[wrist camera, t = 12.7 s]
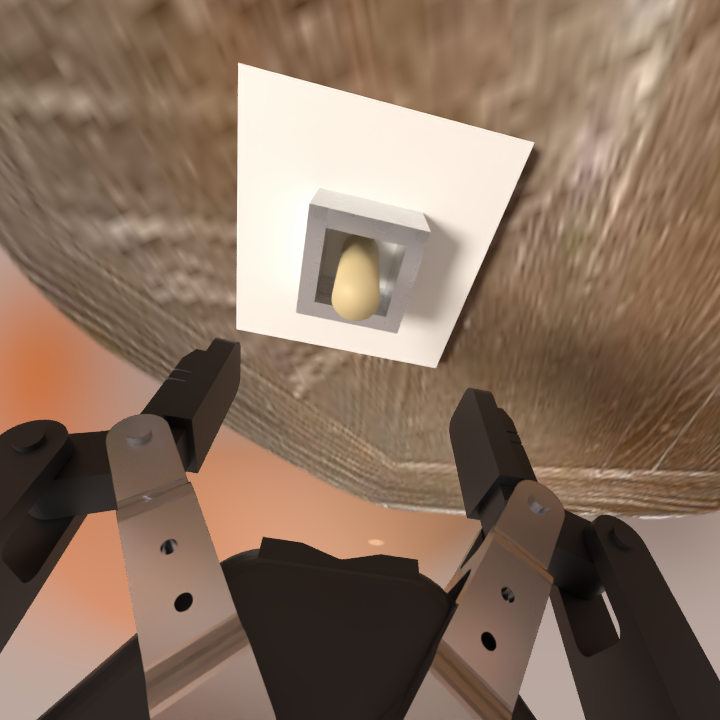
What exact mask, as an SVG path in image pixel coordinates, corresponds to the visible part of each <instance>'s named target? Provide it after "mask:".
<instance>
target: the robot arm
mask: <svg viewBox="0 0 720 720" xmlns="http://www.w3.org/2000/svg"><path fill="white" fill-rule="evenodd" d="M239 382H240V343H239V342H237V341H232V340H226V339H221V338H215V339H214V340H213V342H212V343H211V345H210V346H209V348H208V349H207V351H203V350H198V349H196V350H195V351H193V352H191V353H190V354H188V355H186V356H185V357H183V358H182V359H181V361H180V362H179V363H178V365H177V366H176V367H175V370H173V371H172V373H171V374H170V375H169V377H168V380H167V379H166V381H165V382H164V383H163V385H162V386H161V387H160V389H159V390H158V391H157V393H156V394H155V395H154V397H153V398H152V399H151V400H150V402H149V403H148V405H147V406H146V407H145V408H144V410H143V411H142V412H141V414H139V415H135V416H131V417H128V418H126V419H123V420H122V421H120V422H118V423H117V424H115V425H114V426H113V427H112V428H111V429H110V430H108V431H100V432H88V433H75V434H69V433H68V431H67V429H66V427H65V426H64V425H63V424H61V423H59V422H57V421H53V420H35V421H31V422H26V423H23V424H20V425H17V426H15V427H13V428H11V429H9V430H7V431H6V432H4V433H3V434H1V435H0V653H1V651H2V650H3V648H4V646H5V645H6V644H7V642H8V640H9V639H10V637H11V636H12V634H13V632H14V631H15V629H16V628H17V626H18V624H19V623H20V621H21V620H22V618H23V617H24V615H25V613H26V612H27V610H28V609H29V607H30V605H31V604H32V602H33V601H34V599H35V597H36V596H37V594H38V593H39V591H40V589H41V588H42V586H43V585H44V583H45V581H46V580H47V578H48V577H49V575H50V573H51V572H52V570H53V569H54V567H55V565H56V564H57V562H58V561H59V559H60V558H61V556H62V554H63V553H64V551H65V549H66V548H67V546H68V545H69V543H70V541H71V540H72V538H73V537H74V535H75V533H76V532H77V530H78V529H79V527H80V525H81V524H82V522H83V521H84V519H85V518H86V516H87V514H90V513H97V512H104V511H111V510H116V515H117V522H118V528H119V533H120V539H121V544H122V550H123V556H124V561H125V567H126V572H127V578H128V584H129V589H130V595H131V601H132V606H133V612H134V617H135V623H136V628H137V633H136V634H135V635H134V636H133V637H132V638H130V639H129V640H128V641H127V642H126V643H124V644H123V645H122V646H121V647H120V648H119V649H118V650H117V651H115V652H114V653H113V654H112V655H111V656H110V657H109V658H107V659H106V660H105V661H104V662H103V663H101V664H100V665H99V666H98V667H97V668H96V669H94V670H93V671H92V672H91V673H90V674H89V675H88V676H86V677H85V678H84V679H83V680H82V681H81V682H80V683H78V684H77V685H76V686H75V687H74V688H72V689H71V690H70V691H69V692H68V693H67V694H66V695H64V696H63V697H62V698H61V699H60V700H59V701H57V702H56V703H55V704H54V705H53V706H52V707H51V708H49V709H48V710H47V711H46V712H45V713H44V714H43V715H41V716H40V717H39V718H38V719H37V720H537V719H536V718H535V716H534V715H533V714H532V712H531V711H530V709H529V708H528V707H527V705H526V704H525V702H524V701H523V699H522V698H521V696H520V695H519V690H520V687H521V684H522V681H523V677H524V674H525V671H526V668H527V665H528V661H529V658H530V655H531V652H532V649H533V645H534V642H535V639H536V636H537V633H538V629H539V626H540V623H541V619H542V616H543V613H544V610H545V607H546V604H547V600H548V597H549V596H550V600H551V603H552V606H553V609H554V613H555V617H556V620H557V623H558V627H559V630H560V634H561V637H562V640H563V644H564V647H565V651H566V654H567V658H568V661H569V664H570V668H571V671H572V675H573V678H574V681H575V685H576V688H577V692H578V695H579V699H580V702H581V705H582V709H583V712H584V716H585V719H586V720H720V681H719V679H718V677H717V675H716V673H715V671H714V670H713V668H712V666H711V664H710V662H709V660H708V658H707V657H706V655H705V653H704V651H703V649H702V647H701V646H700V644H699V642H698V640H697V638H696V636H695V635H694V633H693V631H692V629H691V627H690V625H689V624H688V622H687V620H686V618H685V616H684V614H683V613H682V611H681V609H680V607H679V605H678V604H677V602H676V600H675V598H674V596H673V594H672V593H671V591H670V589H669V587H668V585H667V583H666V581H665V580H664V578H663V576H662V574H661V572H660V571H659V569H658V567H657V565H656V563H655V561H654V559H653V558H652V556H651V554H650V552H649V550H648V548H647V547H646V545H645V543H644V542H643V540H642V539H641V537H640V536H639V535H638V534H637V533H636V531H634V530H633V529H632V528H631V527H630V526H629V525H627V524H626V523H625V522H623V521H621V520H620V519H618V518H616V517H613V516H610V515H600V516H598V517H597V518H596V519H595V520H594V521H592V522H590V521H588V520H586V519H583V518H582V517H579V516H577V515H575V514H573V513H571V512H568V511H566V510H564V508H563V505H562V503H561V502H560V500H559V499H558V497H557V496H556V495H555V494H554V493H553V492H552V491H551V490H550V489H548V488H547V487H546V486H544V485H542V484H540V483H538V481H537V479H536V477H535V474H534V472H533V469H532V467H531V464H530V462H529V459H528V457H527V455H526V452H525V450H524V447H523V446H522V445H521V443H522V442H521V440H520V438H519V435H517V430H516V428H515V425H514V423H513V421H512V419H511V418H510V417H509V416H508V415H507V413H506V412H505V411H504V410H503V409H501V408H497V405H496V402H495V400H494V397H493V395H492V393H491V392H488V391H483V390H478V389H473V388H468V389H467V390H466V392H465V393H464V395H463V397H462V399H461V401H460V403H459V405H458V407H457V408H456V410H455V412H454V414H453V416H452V418H451V421H450V427H449V433H450V438H451V443H452V448H453V453H454V457H455V462H456V467H457V472H458V477H459V481H460V486H461V491H462V496H463V501H464V505H465V510H466V515H467V518H471V519H477V520H480V521H481V525H482V528H481V529H480V530H479V532H478V533H477V535H476V537H475V538H474V540H473V542H472V544H471V546H470V547H469V549H468V551H467V553H466V554H465V556H464V558H463V560H462V561H461V563H460V565H459V567H458V568H457V570H456V572H455V574H454V575H453V577H452V578H451V580H450V581H449V583H448V584H447V586H446V587H445V588H444V590H443V589H442V588H441V587H440V586H439V585H438V584H436V583H435V582H434V581H432V580H431V579H429V578H428V577H426V576H424V575H422V574H421V573H419V568H418V560H416V559H409V558H402V557H394V556H388V555H382V554H380V555H373V556H366V557H359V558H351V559H343V560H342V559H338V558H335V557H333V556H331V555H329V554H326V553H324V552H322V551H320V550H317V549H315V548H313V547H311V546H308V545H306V544H304V543H300V542H293V541H287V540H280V539H273V538H266V537H263V539H262V543H261V547H260V549H253V550H249V551H245V552H242V553H239V554H236V555H234V556H231V557H229V558H227V559H226V560H224V561H222V562H220V563H219V560H218V557H217V554H216V551H215V548H214V546H213V542H212V540H211V537H210V534H209V531H208V528H207V526H206V523H205V520H204V517H203V514H202V511H201V508H200V505H199V503H198V499H197V497H196V494H195V491H194V488H193V486H192V484H191V482H188V479H187V477H186V474H185V472H186V471H187V472H193V473H198V472H199V470H200V468H201V466H202V464H203V462H204V460H205V457H206V455H207V453H208V451H209V449H210V447H211V445H212V443H213V441H214V439H215V437H216V434H217V433H218V431H219V429H220V426H221V424H222V422H223V420H224V418H225V416H226V414H227V412H228V410H229V408H230V406H231V404H232V402H233V400H234V398H235V395H236V393H237V390H238V387H239ZM604 591H606V594H607V596H608V598H609V601H610V603H611V606H612V608H613V611H614V613H615V616H616V618H617V620H618V623H619V627H620V639H619V637H618V634H617V632H616V629H615V627H614V624H613V622H612V619H611V617H610V614H609V612H608V609H607V607H606V605H605V602H604V600H603V597H602V594H601V593H603V592H604Z"/></svg>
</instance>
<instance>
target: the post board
mask: <svg viewBox="0 0 720 720" xmlns="http://www.w3.org/2000/svg"><path fill="white" fill-rule="evenodd" d="M533 145H534V142H530V141H526V140H522V139H519V138H515V137H511V136H508V135H504V134H500V133H496V132H493V131H489V130H485V129H482V128H478V127H474V126H470V125H467V124H463V123H459V122H456V121H452V120H448V119H445V118H441V117H437V116H433V115H430V114H426V113H422V112H419V111H415V110H411V109H407V108H404V107H400V106H396V105H393V104H389V103H385V102H381V101H378V100H374V99H370V98H367V97H363V96H359V95H355V94H352V93H348V92H344V91H341V90H337V89H333V88H330V87H326V86H322V85H318V84H315V83H311V82H307V81H304V80H300V79H296V78H292V77H289V76H285V75H281V74H278V73H274V72H270V71H266V70H263V69H259V68H255V67H252V66H248V65H244V64H240V63H238V186H237V329H239V330H244V331H249V332H254V333H259V334H264V335H270V336H275V337H280V338H285V339H290V340H295V341H300V342H305V343H310V344H315V345H320V346H326V347H331V348H336V349H341V350H346V351H351V352H356V353H361V354H366V355H371V356H377V357H382V358H387V359H392V360H397V361H402V362H407V363H412V364H417V365H422V366H427V367H433V368H436V367H437V364H438V362H439V360H440V357H441V355H442V353H443V351H444V348H445V346H446V344H447V341H448V339H449V337H450V335H451V332H452V330H453V328H454V325H455V323H456V321H457V319H458V316H459V314H460V312H461V309H462V307H463V305H464V303H465V300H466V298H467V296H468V293H469V291H470V289H471V287H472V284H473V282H474V280H475V277H476V275H477V273H478V271H479V268H480V266H481V264H482V261H483V259H484V257H485V255H486V252H487V250H488V248H489V245H490V243H491V241H492V239H493V236H494V234H495V232H496V229H497V227H498V225H499V223H500V220H501V218H502V216H503V213H504V211H505V209H506V207H507V204H508V202H509V200H510V197H511V195H512V193H513V191H514V188H515V186H516V184H517V181H518V179H519V177H520V175H521V172H522V170H523V168H524V165H525V163H526V161H527V159H528V156H529V154H530V152H531V149H532V147H533ZM319 188H323V189H327V190H332V191H336V192H340V193H344V194H348V195H352V196H356V197H360V198H365V199H369V200H373V201H377V202H381V203H385V204H389V205H393V206H397V207H402V208H406V209H410V210H414V211H418V212H422V213H423V214H424V217H425V219H426V222H427V224H428V226H429V229H430V231H431V234H430V237H429V240H428V243H427V246H426V249H425V252H424V255H423V258H422V261H421V264H420V267H419V270H418V273H417V276H416V279H415V282H414V285H413V288H412V291H411V294H410V297H409V300H408V303H407V306H406V309H405V312H404V315H403V318H402V321H401V324H400V327H399V330H398V333H397V334H396V333H391V332H386V331H382V330H377V329H372V328H367V327H362V326H357V325H352V324H348V323H343V322H338V321H333V320H328V319H323V318H318V317H313V316H309V315H304V314H299V313H296V308H297V300H298V291H299V283H300V275H301V267H302V259H303V251H304V243H305V235H306V227H307V218H308V210H309V203H310V202H311V200H312V198H313V197H314V195H315V194H316V192H317V191H318V189H319ZM396 246H397V244H394V243H389V242H385V241H381V240H376V239H372V238H368V237H363V236H359V235H355V234H350V233H346V232H342V231H337V230H333V229H330V232H329V238H328V244H327V250H326V256H325V262H324V268H323V275H324V276H329V277H333V278H336V279H335V283H334V288H333V292H332V305H333V307H334V309H335V311H336V312H337V313H338V314H339V315H340V316H341V317H343V318H345V319H347V320H350V321H362V320H365V319H368V318H370V317H371V316H372V315H373V314H374V313H375V312H376V311H377V309H378V307H379V303H380V288H384V289H385V285H386V282H387V278H388V274H389V271H390V267H391V264H392V260H393V257H394V253H395V250H396Z"/></svg>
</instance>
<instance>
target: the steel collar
mask: <svg viewBox="0 0 720 720" xmlns="http://www.w3.org/2000/svg"><path fill="white" fill-rule="evenodd" d="M330 229H333V230H337V231H342V232H346V233H350V234H355V235H359V236H363V237H368V238H372V239H376V240H381V241H385V242H389V243H394V244H397V246H396V250H395V253H394V257H393V260H392V264H391V267H390V271H389V274H388V278H387V282H386V285H385V289H384V288H380V303H379V307H378V309H377V311H376V312H375V313H374V314H373V315H372V316H371V317H370V318H368V319H365V320H362V321H350V320H347V319H345V318H343V317H341V316H340V315H339V314H338V313H337V312H336V311H335V309H334V307H333V305H332V292H333V288H334V283H335V279H336V278H333V277H329V276H324V275H323V268H324V262H325V256H326V250H327V244H328V238H329V232H330ZM430 234H431V231H430V229H429V226H428V224H427V222H426V219H425V217H424V214H423V213H422V212H418V211H414V210H410V209H406V208H402V207H397V206H393V205H389V204H385V203H381V202H377V201H373V200H369V199H365V198H360V197H356V196H352V195H348V194H344V193H340V192H336V191H332V190H327V189H323V188H319V189H318V191H317V192H316V194H315V195H314V197H313V198H312V200H311V202H310V203H309V210H308V218H307V227H306V235H305V243H304V251H303V259H302V267H301V275H300V283H299V291H298V300H297V308H296V313H299V314H304V315H309V316H313V317H318V318H323V319H328V320H333V321H338V322H343V323H348V324H352V325H357V326H362V327H367V328H372V329H377V330H382V331H386V332H391V333H396V334H397V333H398V330H399V327H400V324H401V321H402V318H403V315H404V312H405V309H406V306H407V303H408V300H409V297H410V294H411V291H412V288H413V285H414V282H415V279H416V276H417V273H418V270H419V267H420V264H421V261H422V258H423V255H424V252H425V249H426V246H427V243H428V240H429V237H430Z"/></svg>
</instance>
